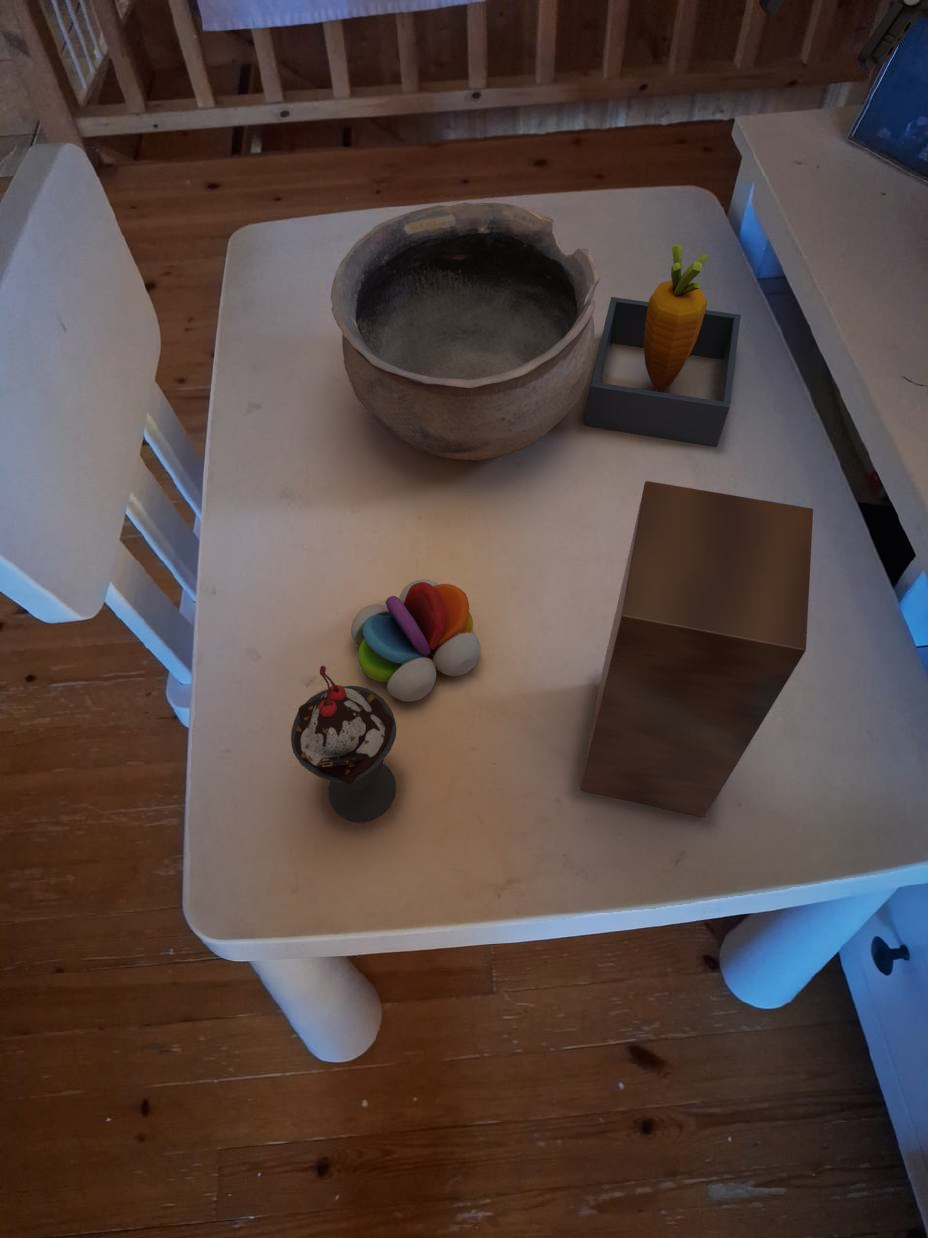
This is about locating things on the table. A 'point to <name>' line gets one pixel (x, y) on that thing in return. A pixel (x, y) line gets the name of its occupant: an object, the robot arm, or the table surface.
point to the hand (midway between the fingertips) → (813, 37)
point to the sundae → (348, 748)
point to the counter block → (697, 644)
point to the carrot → (673, 321)
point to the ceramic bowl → (466, 327)
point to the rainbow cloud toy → (416, 638)
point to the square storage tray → (661, 409)
